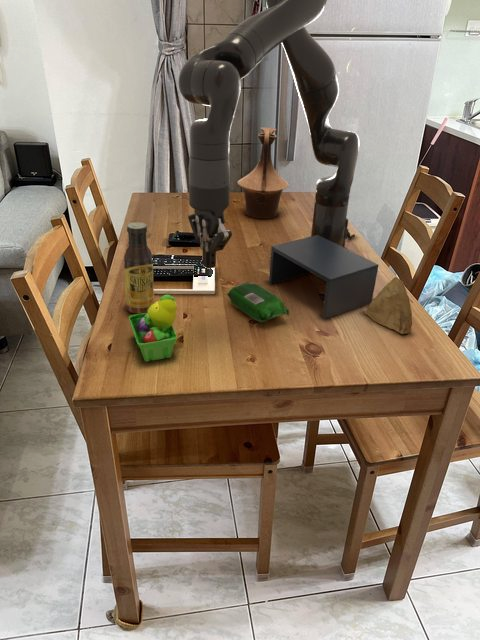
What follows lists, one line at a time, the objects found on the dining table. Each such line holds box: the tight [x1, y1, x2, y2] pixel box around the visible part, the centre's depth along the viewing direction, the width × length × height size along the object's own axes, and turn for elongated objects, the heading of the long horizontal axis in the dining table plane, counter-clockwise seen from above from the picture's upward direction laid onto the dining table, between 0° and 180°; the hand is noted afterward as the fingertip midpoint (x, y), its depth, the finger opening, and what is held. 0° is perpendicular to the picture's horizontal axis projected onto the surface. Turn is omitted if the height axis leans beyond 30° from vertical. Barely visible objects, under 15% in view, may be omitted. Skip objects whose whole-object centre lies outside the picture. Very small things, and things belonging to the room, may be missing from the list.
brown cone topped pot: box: [237, 126, 290, 219], centre depth 166 cm, size 18×17×28 cm
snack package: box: [226, 281, 290, 324], centre depth 115 cm, size 7×16×5 cm, turn 35°
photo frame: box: [153, 266, 216, 295], centre depth 128 cm, size 15×1×18 cm
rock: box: [364, 276, 413, 335], centre depth 112 cm, size 11×9×10 cm
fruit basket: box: [128, 294, 178, 362], centre depth 100 cm, size 11×9×11 cm
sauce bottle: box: [123, 221, 155, 314], centre depth 111 cm, size 6×6×20 cm
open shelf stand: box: [268, 235, 379, 320], centre depth 123 cm, size 15×21×10 cm
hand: (209, 266), depth 102 cm, fingers closed
